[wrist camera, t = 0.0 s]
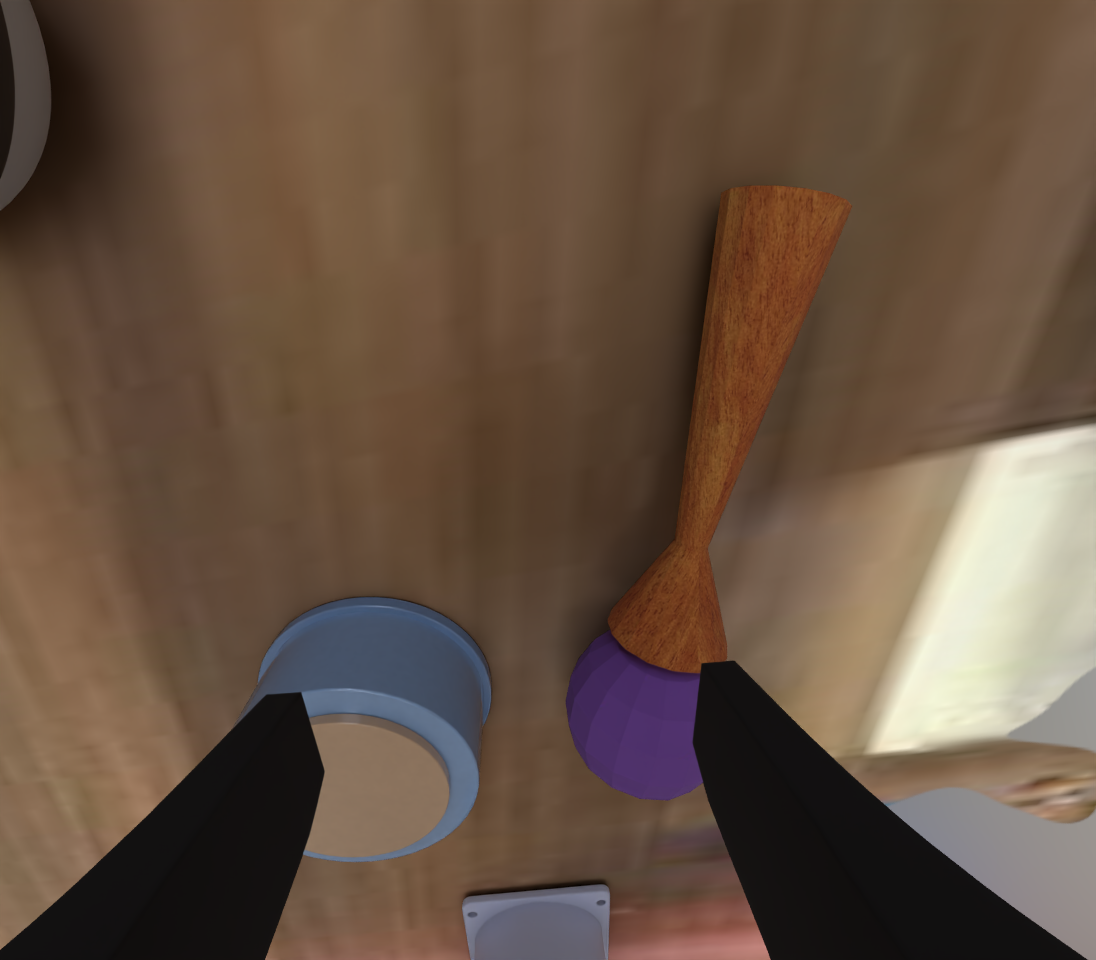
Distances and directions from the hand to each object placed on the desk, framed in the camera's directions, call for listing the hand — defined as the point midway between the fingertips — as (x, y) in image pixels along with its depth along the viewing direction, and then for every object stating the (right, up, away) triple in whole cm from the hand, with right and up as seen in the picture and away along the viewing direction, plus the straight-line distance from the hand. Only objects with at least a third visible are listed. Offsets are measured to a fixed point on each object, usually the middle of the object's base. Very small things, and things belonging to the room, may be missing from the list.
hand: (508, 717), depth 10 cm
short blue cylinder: (-6, -4, +13) cm, 15 cm away
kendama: (+5, +4, +10) cm, 12 cm away
